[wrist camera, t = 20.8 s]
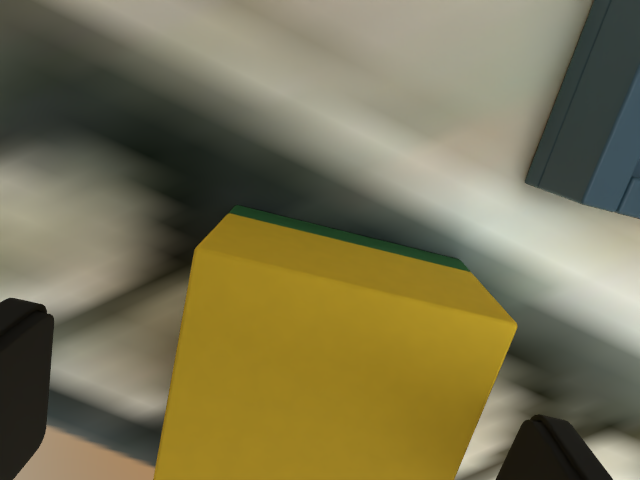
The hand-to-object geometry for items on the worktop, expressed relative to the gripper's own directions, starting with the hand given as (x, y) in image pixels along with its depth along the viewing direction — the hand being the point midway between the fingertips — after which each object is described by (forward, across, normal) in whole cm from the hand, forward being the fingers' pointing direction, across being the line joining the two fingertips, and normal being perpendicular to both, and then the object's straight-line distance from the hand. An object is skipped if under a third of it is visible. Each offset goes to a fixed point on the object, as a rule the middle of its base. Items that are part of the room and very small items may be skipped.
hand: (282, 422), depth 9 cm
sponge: (+5, -1, +2) cm, 5 cm away
